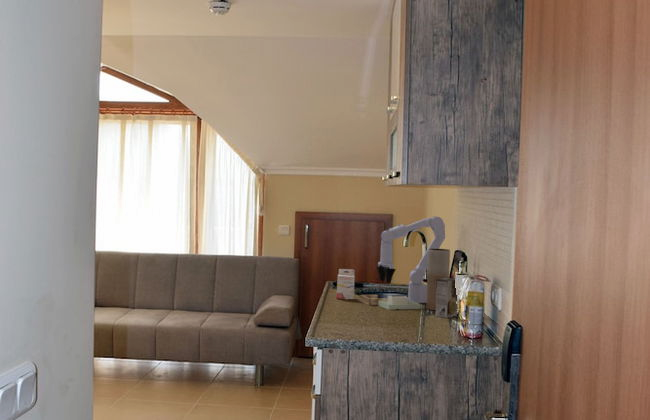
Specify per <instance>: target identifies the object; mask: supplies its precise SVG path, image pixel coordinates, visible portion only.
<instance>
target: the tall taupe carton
mask: <svg viewBox="0 0 650 420" xmlns="http://www.w3.org/2000/svg"><path fill="white" fill-rule="evenodd" d="M427 249H428V248H427ZM450 258H451V249H447V248H439V249H428V268H427V274H426V275H427V277H426V278H427V279H426V285H427V301H426V303H425V304H426V305H425V306H426V310H429V311H436V285H437V279H443V278H450V265H451V264H450V263H451V259H450Z"/></svg>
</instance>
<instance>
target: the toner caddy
mask: <svg viewBox="0 0 650 420" xmlns="http://www.w3.org/2000/svg"><path fill="white" fill-rule="evenodd" d="M387 299H388V304H408V296H406V295H405V294H391V295H387Z"/></svg>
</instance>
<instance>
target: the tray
mask: <svg viewBox="0 0 650 420" xmlns="http://www.w3.org/2000/svg"><path fill="white" fill-rule="evenodd" d="M377 306H378V307H381V308H383V309H385V310H389V311H390V310H394V311H395V310H396V309H399V310H421V309H422V308H421V303H416V302H413V301H410V300H408V304H388V301H378V305H377Z"/></svg>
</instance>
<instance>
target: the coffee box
mask: <svg viewBox="0 0 650 420" xmlns="http://www.w3.org/2000/svg"><path fill="white" fill-rule="evenodd" d="M455 279H456V278H451V277H449V278H443V279H437V285H436V310H435V313H434V314H435V317H439V318H440V317H441V318H446V319H449V318H453V316H455V317H457V316H456V314H457V304H456V301H457V295H456V288H455Z"/></svg>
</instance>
